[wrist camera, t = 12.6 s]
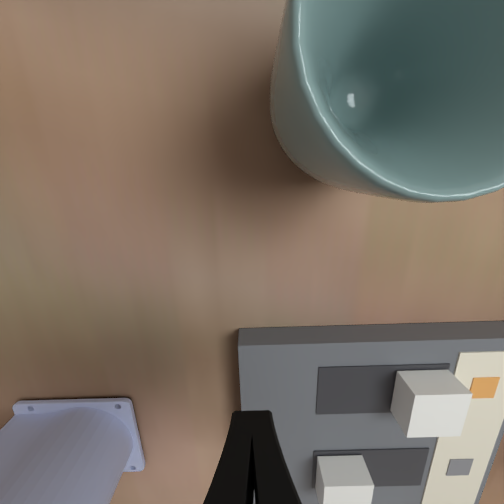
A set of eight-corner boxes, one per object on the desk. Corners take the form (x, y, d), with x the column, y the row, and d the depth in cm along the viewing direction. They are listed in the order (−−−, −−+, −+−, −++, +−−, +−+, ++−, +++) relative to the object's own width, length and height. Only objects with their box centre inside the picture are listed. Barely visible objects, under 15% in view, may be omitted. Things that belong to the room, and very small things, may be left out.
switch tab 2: (390, 410, 18) (406, 437, 16) (397, 370, 17) (415, 395, 15) (438, 408, 18) (460, 436, 16) (448, 369, 17) (472, 393, 15)
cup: (337, 210, 16) (462, 261, 7) (238, 133, 15) (216, 59, 5) (427, 99, 14) (780, -52, 5) (323, 0, 13) (527, -488, 3)
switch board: (249, 530, 26) (249, 561, 24) (239, 328, 19) (237, 347, 17) (444, 525, 26) (461, 556, 24) (508, 320, 19) (540, 338, 17)
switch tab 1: (315, 486, 21) (321, 518, 19) (317, 456, 20) (324, 486, 18) (357, 485, 21) (368, 517, 19) (362, 455, 20) (374, 485, 18)
